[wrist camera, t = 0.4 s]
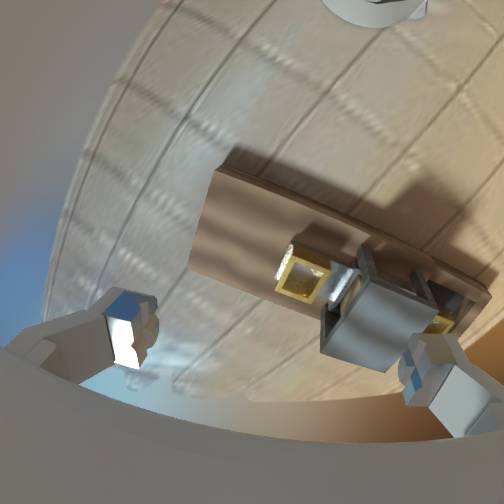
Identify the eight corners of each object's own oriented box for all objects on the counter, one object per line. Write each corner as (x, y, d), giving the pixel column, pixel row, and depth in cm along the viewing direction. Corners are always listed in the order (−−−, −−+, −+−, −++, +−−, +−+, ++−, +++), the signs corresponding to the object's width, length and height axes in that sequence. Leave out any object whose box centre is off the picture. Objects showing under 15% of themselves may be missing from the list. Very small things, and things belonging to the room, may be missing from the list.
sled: (293, 233, 45) (291, 247, 42) (453, 303, 46) (460, 318, 42) (272, 279, 50) (268, 294, 46) (425, 337, 50) (430, 353, 47)
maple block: (357, 268, 47) (361, 291, 41) (402, 288, 47) (409, 310, 42) (339, 296, 50) (341, 320, 44) (383, 313, 50) (388, 337, 45)
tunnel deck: (222, 164, 47) (189, 191, 35) (484, 285, 47) (513, 332, 35) (194, 256, 56) (163, 303, 44) (433, 347, 57) (448, 397, 44)
